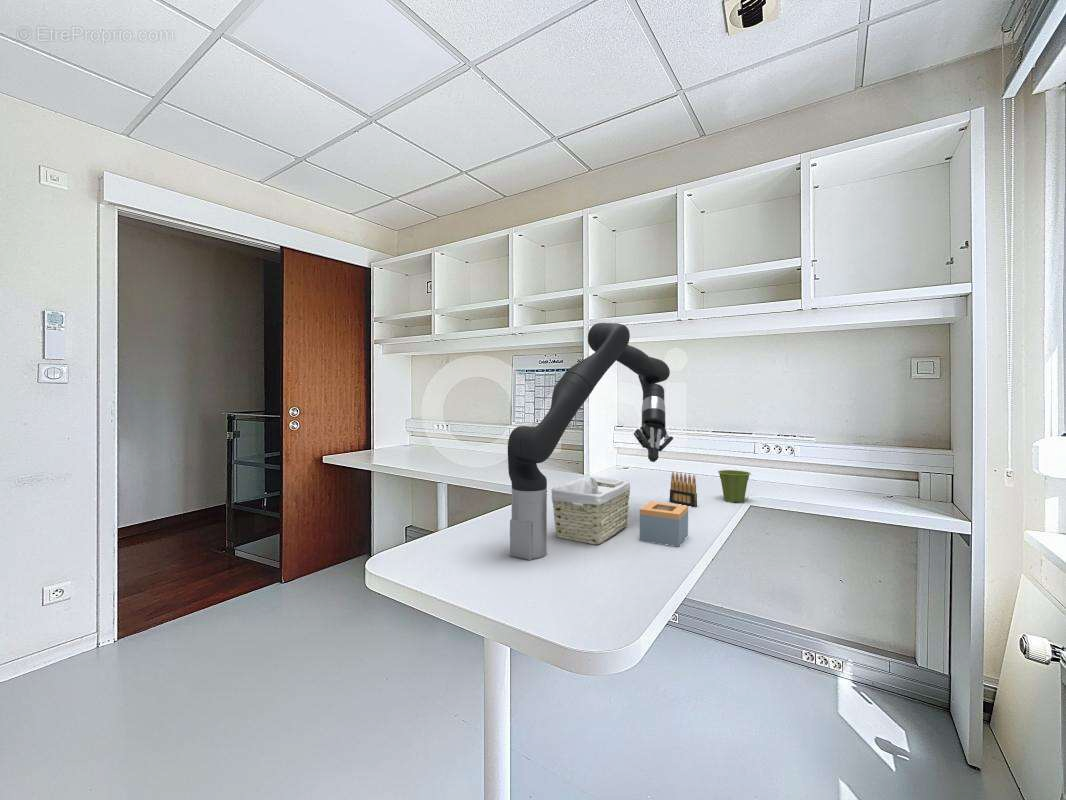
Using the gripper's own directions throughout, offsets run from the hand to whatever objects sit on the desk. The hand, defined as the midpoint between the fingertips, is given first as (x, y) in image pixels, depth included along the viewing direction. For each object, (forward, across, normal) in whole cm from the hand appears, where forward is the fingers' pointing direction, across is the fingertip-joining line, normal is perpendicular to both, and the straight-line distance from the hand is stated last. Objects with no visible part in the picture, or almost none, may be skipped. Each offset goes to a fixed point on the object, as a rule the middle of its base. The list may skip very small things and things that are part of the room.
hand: (653, 460), depth 146 cm
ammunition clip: (-3, +26, +34) cm, 43 cm away
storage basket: (+22, -14, +12) cm, 29 cm away
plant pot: (-9, +48, +35) cm, 60 cm away
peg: (+23, +4, +3) cm, 23 cm away
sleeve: (+23, +5, +3) cm, 23 cm away
